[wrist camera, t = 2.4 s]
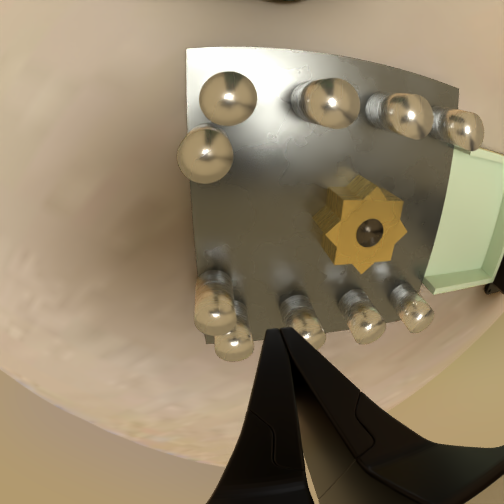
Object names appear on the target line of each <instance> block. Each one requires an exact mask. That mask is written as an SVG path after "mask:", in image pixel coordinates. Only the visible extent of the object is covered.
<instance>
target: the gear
mask: <svg viewBox="0 0 504 504" xmlns="http://www.w3.org/2000/svg"><path fill="white" fill-rule="evenodd" d="M403 202H404V201H403V200H401V199H400V198H398V197H397V196H395V195H393V194H392V193H390V192H389V191H387V190H386V189H384V188H379V187H378V186H377V185H375V184H373V183H372V182H370V181H369V180H367V179H365V178H364V177H362V176H360V175H358V176H357V177H356V178H355V179H353V180H352V181H351V182H350V183H349V184H348V185H347V186H346V187H328V190H327V200H326V205H325V206H324V207H323V208H322V209H321V210H320V211H319V212H318V213H317V214H316V215H315V216H314V217H312V218H313V220H314V221H315V222H316V223H317V225H318V226H319V227H320V229H321V230H322V231H323V236H322V244H321V247H322V248H323V249H324V251H325V252H326V254H327V255H328V257H329V258H330V260H331V261H332V263H333V264H334V265H344V264H352V265H353V266H354V267H355V268H356V269H357V270H358V271H359V272H360V274H362V273H364V272H365V271H366V270H367V269H368V268H369V267H370V266H371V265H373V264H374V263H375V262H382V261H391V257H392V253H393V249H394V244H395V243H396V242H398V241H399V240H400V239H401V238H402V237H403V236H404V235H405V234H406V233H407V230H406V228H405V227H404V225H403V224H402V222H401V220H400V217H401V212H402V207H403Z"/></svg>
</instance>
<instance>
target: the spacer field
mask: <svg viewBox="0 0 504 504" xmlns="http://www.w3.org/2000/svg"><path fill="white" fill-rule="evenodd" d="M186 76H187V128H188V134H187V136H186V137H185V138H184V140H183V141H182V142H181V144H180V146H179V149H178V153H177V162H178V166H179V168H180V170H181V172H182V173H183V174H184V175H185V176H186V177H187V178H188V179H190V189H191V204H192V217H193V230H194V241H195V252H196V263H197V272H198V279H197V281H196V292H195V313H194V322H195V325H196V327H197V328H198V330H200V331H201V332H202V333H204V334H205V339H206V344H215V352H216V354H217V356H218V357H219V358H221V359H223V360H225V361H231V362H235V361H241V360H244V359H246V358H248V357H249V356H250V355H251V354H252V352H253V350H254V345H253V341H257V340H264V337H265V332H266V330H267V329H272V328H278V329H280V328H283V327H293V328H294V329H295V330H296V331H297V332H298V333H299V334H300V335H301V336H302V337H303V338H305V339H306V340H307V341H308V342H309V343H310V344H311V345H312V346H313V347H314V348H315V349H316V350H318V349H319V348H320V347H321V346H322V345H323V344H324V342H325V340H326V335H325V333H328V332H335V331H341V330H348V329H350V331H351V333H352V334H353V336H354V338H355V340H356V342H357V343H359V344H369V343H372V342H374V341H375V340H377V339H378V338H379V337H380V336H381V335H382V334H383V333H384V331H385V328H386V323H389V322H394V321H399V320H402V321H403V322H404V324H405V325H406V327H407V328H408V329H409V331H410V332H411V333H419V332H421V331H423V330H424V329H425V328H427V327H428V326H429V324H430V323H431V322H432V320H433V318H434V311H433V310H432V309H431V308H430V306H429V305H428V304H427V303H426V302H425V300H424V299H423V298H422V297H421V296H420V295H419V290H420V287H421V284H422V281H423V278H424V275H425V272H426V269H427V266H428V263H429V259H430V256H431V253H432V249H433V246H434V242H435V239H436V235H437V231H438V227H439V223H440V219H441V215H442V211H443V206H444V202H445V197H446V192H447V187H448V182H449V176H450V171H451V164H452V158H453V151H454V145H455V146H458V147H460V148H463V149H466V150H469V151H476V150H477V149H478V148H479V147H480V146H481V144H482V142H483V138H484V127H483V123H482V120H481V119H480V117H479V116H478V115H477V114H475V113H472V112H467V111H462V110H458V98H459V89H458V88H455V87H453V86H450V85H448V84H445V83H442V82H439V81H437V80H434V79H431V78H428V77H425V76H422V75H418V74H415V73H412V72H408V71H405V70H401V69H398V68H394V67H390V66H386V65H382V64H378V63H374V62H369V61H365V60H360V59H355V58H350V57H344V56H338V55H332V54H326V53H318V52H311V51H302V50H292V49H279V48H262V47H207V48H189V49H187V60H186ZM358 175H360V176H362V177H364V178H365V179H367V180H369V181H370V182H372V183H373V184H375V185H377V186H378V187H379V188H384V189H386V190H387V191H389V192H390V193H392V194H393V195H395V196H397V197H398V198H400V199H401V200H403V201H404V202H403V207H402V212H401V217H400V220H401V222H402V224H403V225H404V227H405V228H406V230H407V233H406V234H405V235H404V236H403V237H402V238H401V239H400V240H399V241H398V242H396V243H395V244H394V249H393V253H392V257H391V261H382V262H375V263H374V264H373V265H371V266H370V267H369V268H368V269H367V270H366V271H365V272H364V273H362V274H360V272H359V271H358V270H357V269H356V268H355V267H354V266H353V265H352V264H344V265H334V264H333V263H332V261H331V260H330V258H329V257H328V255H327V254H326V252H325V251H324V249H323V248H322V247H321V244H322V236H323V231H322V230H321V229H320V227H319V226H318V225H317V223H316V222H315V221H314V220H313V218H312V217H314V216H315V215H316V214H317V213H318V212H319V211H320V210H321V209H322V208H323V207H324V206H325V205H326V200H327V190H328V187H346V186H347V185H348V184H349V183H350V182H351V181H352V180H353V179H355V178H356V177H357V176H358Z"/></svg>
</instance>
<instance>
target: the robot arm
mask: <svg viewBox="0 0 504 504" xmlns="http://www.w3.org/2000/svg"><path fill="white" fill-rule="evenodd" d="M499 291H501V292H502V293H503V294H504V255H503V258H502V260H501V263H500V266H499V268H498V271H497V274H496V276H495V278H494V281H493V282H492V283H488V284H487V286H486V288H485V293H486V294H491V293H495V292H499ZM303 453H304V455H303ZM304 456H305V460H306V463H307V466H308V469H309V472H310V475H311V478H312V482H313V485H314V488H315V491H316V494H317V497H318V499H319V504H504V445H503V446H500V447H496V448H478V447H464V446H453V445H444V444H438V443H434V442H431V441H429V440H427V439H425V438H423V437H421V436H420V435H418V434H417V433H415V432H414V431H412V430H411V429H409V428H408V427H406V426H405V425H403V424H402V423H401V422H399V421H398V420H396V419H395V418H393V417H392V416H390V415H389V414H388V413H387V412H385V411H384V410H383V409H381V408H380V407H379V406H378V405H376V404H375V403H374V402H373V401H372V400H371V399H369V398H368V397H367V396H366V395H365V394H364V393H363V392H360V390H359V389H358V388H357V387H356V386H355V385H354V384H353V383H352V382H351V381H350V380H348V379H347V378H346V377H345V376H344V375H343V374H342V373H341V372H340V371H339V370H338V369H337V368H335V367H334V366H333V365H332V364H331V363H330V362H329V361H328V360H327V359H326V358H325V357H324V356H323V355H321V354H320V353H319V352H318V351H317V350H316V349H315V348H314V347H313V346H312V345H311V344H310V343H309V342H308V341H307V340H306V339H305V338H303V337H302V336H301V335H300V334H299V333H298V332H297V331H296V330H295V329H294V328H293V327H283V328H280V329H278V328H272V329H267V330H266V332H265V337H264V341H263V345H262V350H261V354H260V358H259V363H258V367H257V371H256V375H255V380H254V384H253V388H252V392H251V396H250V400H249V404H248V408H247V412H246V416H245V420H244V423H243V427H242V430H241V433H240V436H239V439H238V441H237V444H236V446H235V449H234V451H233V453H232V455H231V458H230V460H229V462H228V464H227V466H226V468H225V470H224V473H223V475H222V477H221V479H220V481H219V483H218V485H217V487H216V489H215V490H214V492H213V494H212V496H211V497H210V499H209V500H208V502H207V503H206V504H314V501H313V499H312V496H311V494H310V491H309V488H308V483H307V478H306V472H305V463H304Z"/></svg>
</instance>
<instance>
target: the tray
mask: <svg viewBox="0 0 504 504" xmlns="http://www.w3.org/2000/svg"><path fill="white" fill-rule="evenodd" d="M503 255H504V154H501V153H497V152H494V151H491V150H488V149H484V148H481V147H479V148H478V149H477V150H476V151H469V150H466V149H463V148H460V147H458V146H455V145H454V151H453V158H452V164H451V171H450V176H449V182H448V187H447V192H446V197H445V202H444V206H443V211H442V215H441V219H440V223H439V227H438V231H437V235H436V239H435V242H434V246H433V249H432V253H431V256H430V259H429V263H428V266H427V269H426V272H425V275H424V278H423V281H422V283H423V284H424V285H425V286H426V287H427V289H428V290H429V291H430V292H431V293H432V294H433V295H435V294H440V293H445V292H450V291H455V290H460V289H465V288H470V287H475V286H479V285H484V284H488V283H492V282H493V281H494V278H495V276H496V274H497V271H498V268H499V266H500V263H501V260H502V258H503Z"/></svg>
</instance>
